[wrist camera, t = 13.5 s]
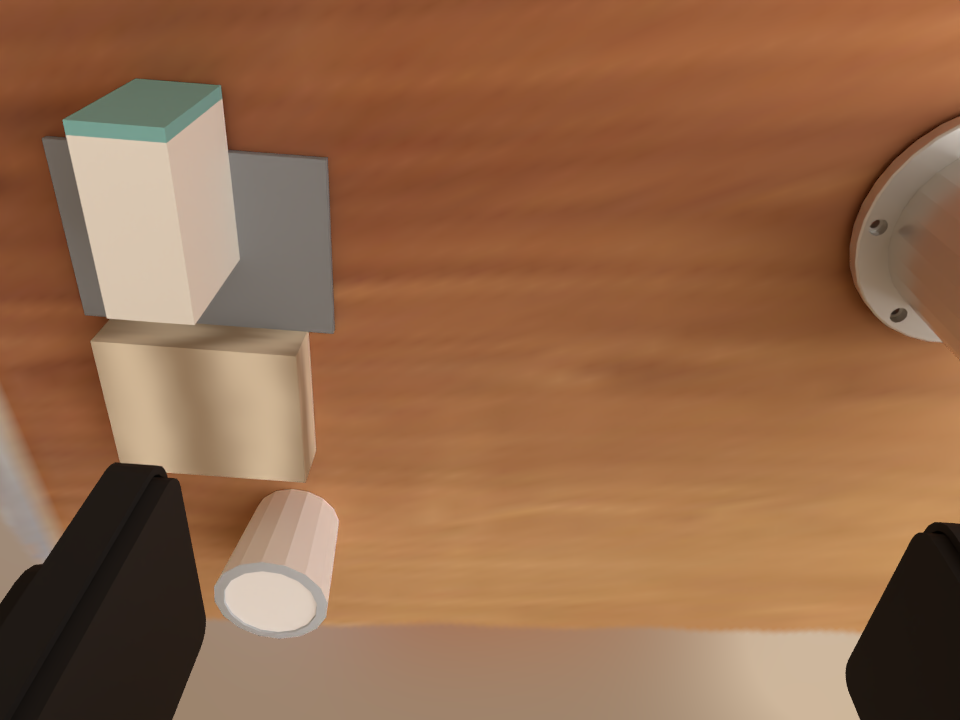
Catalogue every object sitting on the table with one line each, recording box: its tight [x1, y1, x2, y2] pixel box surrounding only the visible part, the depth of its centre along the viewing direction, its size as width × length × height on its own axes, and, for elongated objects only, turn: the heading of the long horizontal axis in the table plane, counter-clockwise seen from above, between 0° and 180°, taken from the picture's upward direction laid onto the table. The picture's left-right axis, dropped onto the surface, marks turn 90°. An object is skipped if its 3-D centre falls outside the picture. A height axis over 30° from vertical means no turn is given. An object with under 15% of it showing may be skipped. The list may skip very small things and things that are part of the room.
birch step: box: [90, 319, 316, 483], centre depth 45 cm, size 11×9×3 cm
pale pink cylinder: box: [214, 489, 339, 639], centre depth 49 cm, size 7×7×7 cm
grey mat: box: [42, 136, 335, 334], centre depth 41 cm, size 14×10×1 cm
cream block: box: [63, 79, 240, 325], centre depth 35 cm, size 4×7×9 cm
